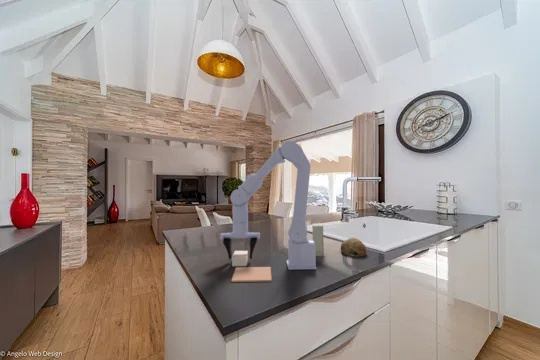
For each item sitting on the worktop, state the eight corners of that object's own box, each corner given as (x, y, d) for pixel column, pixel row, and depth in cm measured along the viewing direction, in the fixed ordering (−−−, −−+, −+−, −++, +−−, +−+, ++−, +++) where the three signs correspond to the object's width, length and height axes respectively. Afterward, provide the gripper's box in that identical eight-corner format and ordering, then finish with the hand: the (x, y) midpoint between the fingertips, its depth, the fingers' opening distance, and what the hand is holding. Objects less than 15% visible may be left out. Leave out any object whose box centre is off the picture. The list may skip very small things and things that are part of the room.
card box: (247, 259, 85) (247, 250, 85) (246, 266, 78) (246, 256, 78) (235, 259, 85) (235, 250, 85) (232, 266, 78) (232, 256, 78)
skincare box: (324, 257, 87) (323, 226, 87) (312, 256, 88) (312, 225, 88) (323, 252, 93) (323, 223, 93) (312, 251, 94) (312, 223, 94)
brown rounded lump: (341, 263, 90) (343, 248, 86) (338, 246, 99) (339, 231, 95) (367, 264, 88) (369, 249, 85) (361, 247, 97) (363, 232, 94)
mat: (270, 268, 76) (270, 266, 76) (271, 281, 66) (271, 279, 66) (235, 268, 76) (235, 267, 76) (231, 282, 66) (231, 280, 66)
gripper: (260, 219, 86) (260, 254, 86) (222, 219, 86) (223, 254, 85) (259, 222, 79) (259, 260, 79) (219, 223, 79) (219, 261, 78)
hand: (240, 258), depth 82 cm, fingers open, 7 cm apart
